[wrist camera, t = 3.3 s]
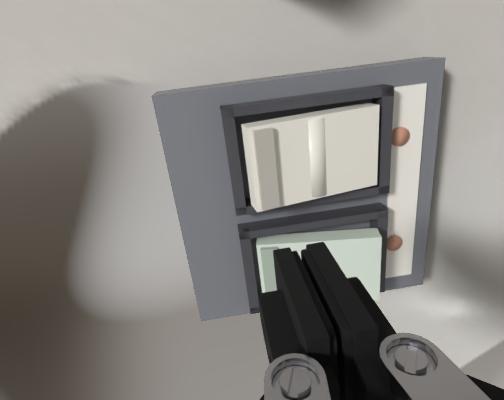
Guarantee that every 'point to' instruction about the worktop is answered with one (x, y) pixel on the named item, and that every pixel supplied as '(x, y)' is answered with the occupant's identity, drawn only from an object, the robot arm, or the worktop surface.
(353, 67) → the switch panel
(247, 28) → the worktop surface
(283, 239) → the rocker sage
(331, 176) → the rocker ivory
